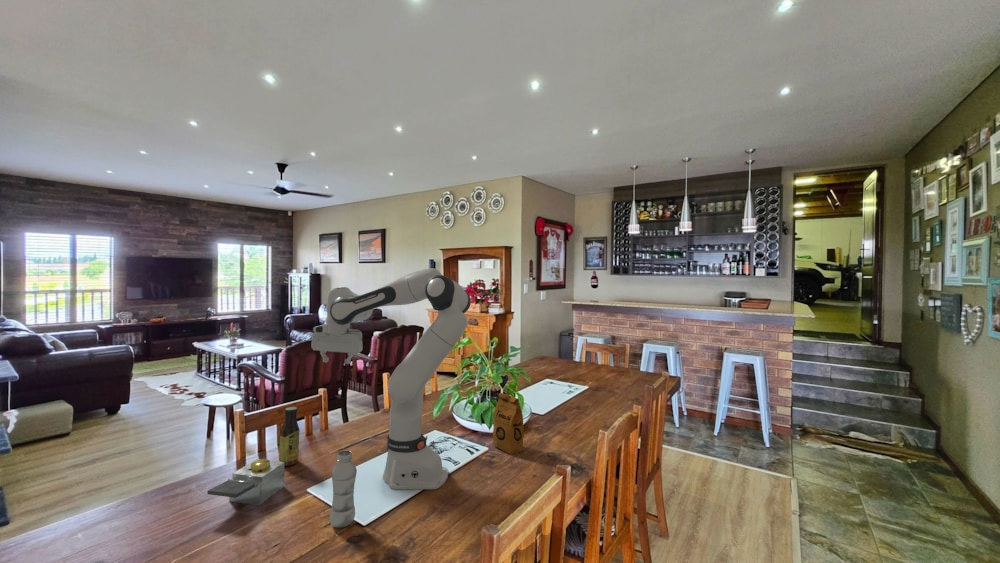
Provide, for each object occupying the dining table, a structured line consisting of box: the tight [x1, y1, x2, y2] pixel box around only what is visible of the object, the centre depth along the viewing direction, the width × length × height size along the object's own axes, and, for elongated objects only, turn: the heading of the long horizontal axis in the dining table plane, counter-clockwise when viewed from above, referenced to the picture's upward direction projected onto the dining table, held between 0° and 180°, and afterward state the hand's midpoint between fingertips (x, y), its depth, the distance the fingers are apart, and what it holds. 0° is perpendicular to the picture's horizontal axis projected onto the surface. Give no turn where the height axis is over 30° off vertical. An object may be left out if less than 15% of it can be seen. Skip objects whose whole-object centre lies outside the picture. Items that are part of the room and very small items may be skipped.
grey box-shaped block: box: [228, 458, 285, 506], centre depth 127 cm, size 10×11×8 cm
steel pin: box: [250, 458, 271, 472], centre depth 128 cm, size 5×5×9 cm
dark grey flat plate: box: [207, 478, 258, 498], centre depth 118 cm, size 9×8×1 cm
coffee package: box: [492, 392, 525, 456], centre depth 167 cm, size 10×12×22 cm
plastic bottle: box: [329, 450, 358, 529], centre depth 114 cm, size 6×7×20 cm
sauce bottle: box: [278, 406, 301, 467], centre depth 148 cm, size 7×6×20 cm
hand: (336, 362), depth 161 cm, fingers open, 8 cm apart
